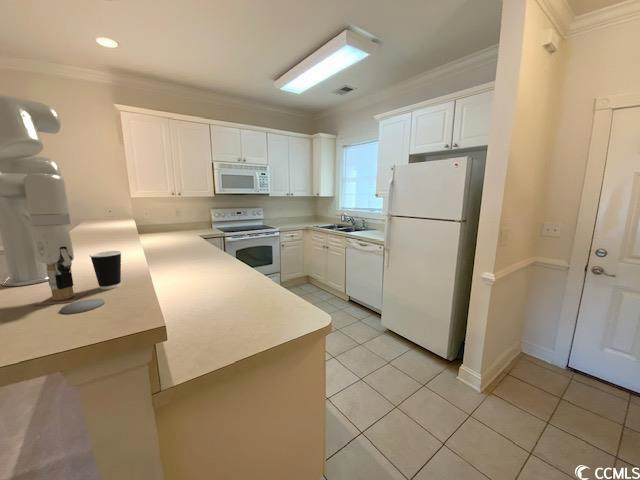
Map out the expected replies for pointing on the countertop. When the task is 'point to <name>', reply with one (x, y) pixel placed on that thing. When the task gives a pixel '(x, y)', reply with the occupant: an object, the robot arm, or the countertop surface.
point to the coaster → (82, 306)
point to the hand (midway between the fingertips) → (61, 285)
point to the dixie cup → (107, 268)
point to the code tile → (72, 299)
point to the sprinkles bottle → (56, 293)
